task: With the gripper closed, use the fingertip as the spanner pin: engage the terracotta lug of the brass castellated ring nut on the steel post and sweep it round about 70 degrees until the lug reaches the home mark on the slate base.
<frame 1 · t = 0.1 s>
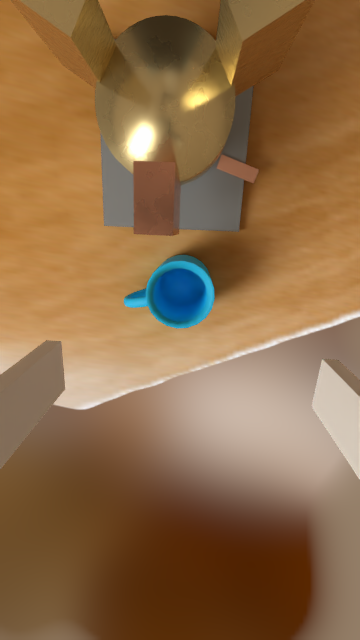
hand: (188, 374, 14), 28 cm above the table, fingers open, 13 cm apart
ring nut: (162, 125, 23), point 14 cm above the table, hinge at 0.0°
mug: (170, 285, 42), on the table
post base: (174, 145, 36), on the table
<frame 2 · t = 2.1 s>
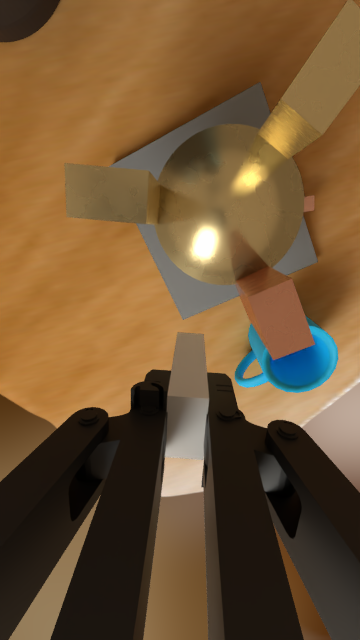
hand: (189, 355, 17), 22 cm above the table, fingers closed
ring nut: (239, 235, 22), point 14 cm above the table, hinge at 0.0°
mug: (266, 341, 39), on the table
post base: (216, 216, 34), on the table
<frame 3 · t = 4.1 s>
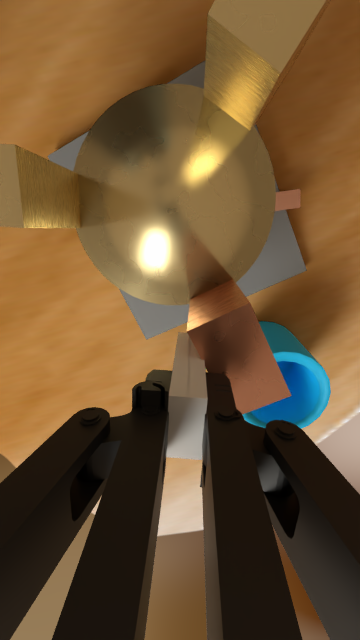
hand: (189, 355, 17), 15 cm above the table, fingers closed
ring nut: (185, 238, 16), point 14 cm above the table, hinge at 1.5°, touching gripper
mug: (248, 363, 33), on the table
post base: (182, 215, 28), on the table
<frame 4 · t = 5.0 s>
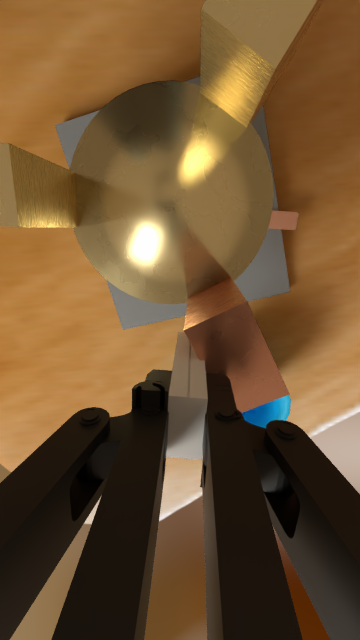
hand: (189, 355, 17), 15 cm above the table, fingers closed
ring nut: (182, 237, 16), point 14 cm above the table, hinge at 12.9°, touching gripper
mug: (218, 371, 34), on the table
post base: (180, 214, 28), on the table
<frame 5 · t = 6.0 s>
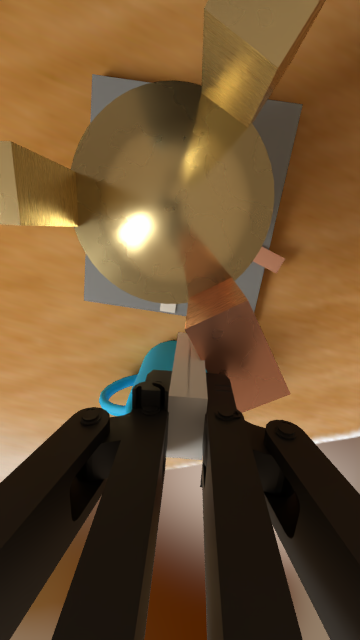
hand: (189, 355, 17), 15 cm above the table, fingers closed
ring nut: (183, 236, 16), point 14 cm above the table, hinge at 35.1°, touching gripper
mug: (160, 372, 34), on the table
post base: (181, 214, 28), on the table
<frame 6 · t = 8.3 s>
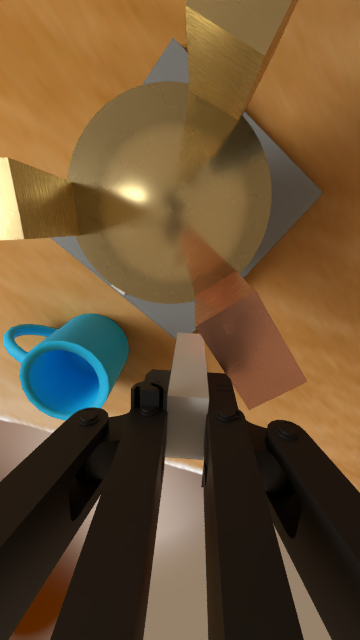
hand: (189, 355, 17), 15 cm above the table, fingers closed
ring nut: (184, 235, 16), point 14 cm above the table, hinge at 72.9°
mug: (79, 339, 33), on the table
post base: (178, 214, 28), on the table
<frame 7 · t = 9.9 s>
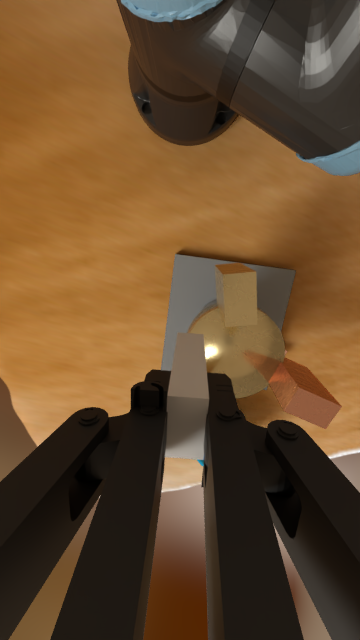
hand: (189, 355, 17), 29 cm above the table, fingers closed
ring nut: (251, 366, 33), point 14 cm above the table, hinge at 72.9°
post base: (223, 324, 46), on the table
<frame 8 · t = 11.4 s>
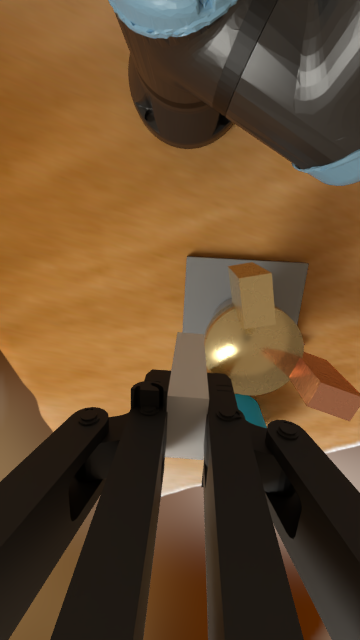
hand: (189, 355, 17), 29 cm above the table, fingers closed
ring nut: (271, 363, 34), point 14 cm above the table, hinge at 72.9°
mug: (227, 414, 52), on the table
post base: (238, 321, 47), on the table
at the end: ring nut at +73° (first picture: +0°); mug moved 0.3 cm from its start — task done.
